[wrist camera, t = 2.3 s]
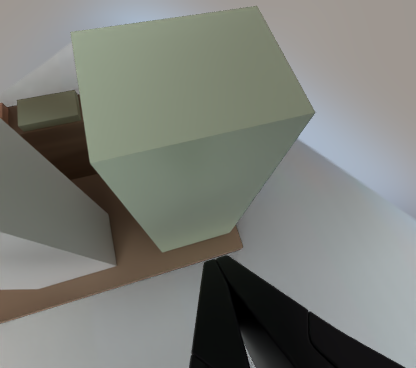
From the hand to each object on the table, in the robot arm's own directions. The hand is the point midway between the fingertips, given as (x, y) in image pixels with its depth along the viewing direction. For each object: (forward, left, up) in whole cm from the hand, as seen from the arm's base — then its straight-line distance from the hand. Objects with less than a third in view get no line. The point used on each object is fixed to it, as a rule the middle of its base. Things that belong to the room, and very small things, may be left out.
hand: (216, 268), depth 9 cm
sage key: (+3, 0, -6) cm, 7 cm away
